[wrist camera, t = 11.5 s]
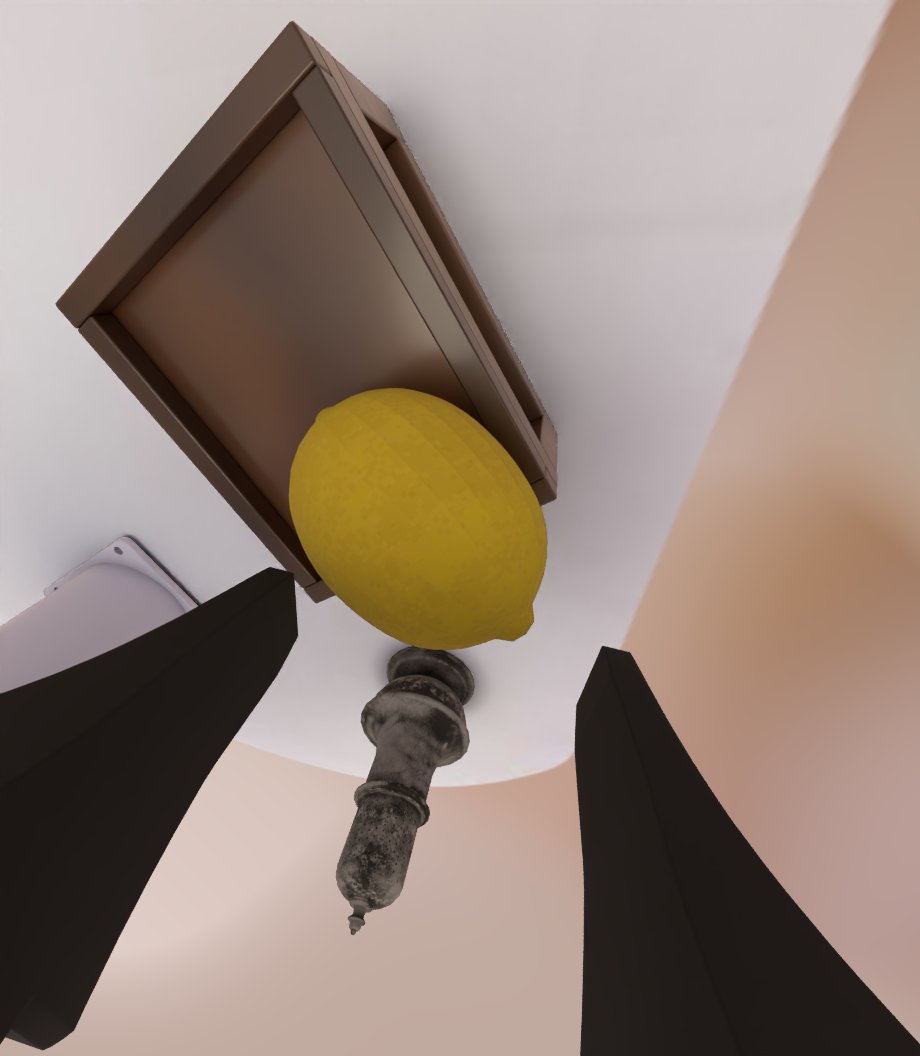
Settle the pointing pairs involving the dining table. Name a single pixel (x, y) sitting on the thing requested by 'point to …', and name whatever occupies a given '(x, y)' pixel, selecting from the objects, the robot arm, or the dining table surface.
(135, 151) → the dining table surface
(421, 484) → the lemon
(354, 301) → the walnut box
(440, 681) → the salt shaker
